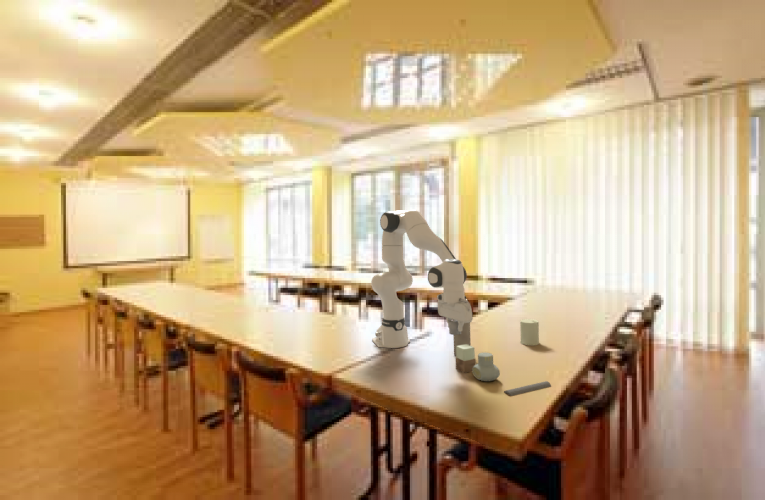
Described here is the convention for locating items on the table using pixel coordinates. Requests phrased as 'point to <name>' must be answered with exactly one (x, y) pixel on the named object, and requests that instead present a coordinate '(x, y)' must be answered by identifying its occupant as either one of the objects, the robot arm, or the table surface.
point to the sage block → (465, 352)
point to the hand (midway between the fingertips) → (455, 329)
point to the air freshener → (485, 368)
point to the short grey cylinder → (453, 327)
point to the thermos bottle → (462, 336)
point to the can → (529, 331)
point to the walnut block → (465, 365)
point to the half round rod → (528, 388)
